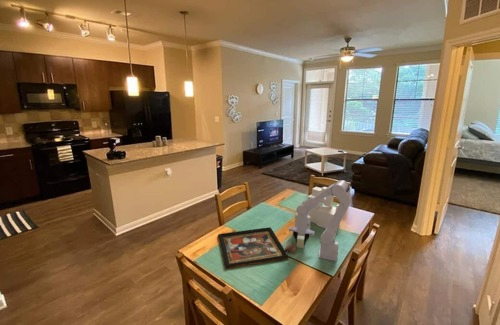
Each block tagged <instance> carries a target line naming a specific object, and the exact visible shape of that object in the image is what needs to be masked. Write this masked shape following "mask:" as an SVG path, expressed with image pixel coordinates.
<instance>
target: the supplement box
mask: <svg viewBox="0 0 500 325" xmlns="http://www.w3.org/2000/svg"><path fill="white" fill-rule="evenodd" d="M297 217H298V213H296V214H295V216H294V227H297ZM311 223H312V222H311V217H310V216H309V215H308V219H307V229H309V230H311ZM298 235H300V236H305V234H300V233H298ZM309 236H310V234H309Z"/></svg>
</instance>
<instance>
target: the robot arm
mask: <svg viewBox="0 0 500 325" xmlns="http://www.w3.org/2000/svg"><path fill="white" fill-rule="evenodd" d="M328 195H330V196H334V197H335V199H337V200H338V201H339V206H338V208H337V210H336V212H335V214H334V216H333V218H332V220H331V222H330V224H329V226H328V227H327V228H324V229H325V230H324V231H323V233H321V235H320V247H319V252H318V258H319V259H323V260H324V259H325V260H329V261H334V262H337V261H338V256H339V241H336V240H335V238H336V235H337V232H338V231H337V230H338V227H339V226H340V224H341V222H342V220H343V218H344V216H346V213H347V211H348V210H349V207H350V205H351V204H352V194H351V186H350V184H349V183H348V181H346V180H343V179H342V180H338V181H337V182H334V183H333V184H331V185H329V186H328V187H327V188H326V189H325V190H324V191H322V192H321V193H320V194H318V195H317V196H311V197H310V195H308V196H309V197H308V196H307V199H306V200H303V201H301V203H300V204H299V205H297V207H296V210H295V211H296V214H298V217H297V227H295V226H289V227H288V232H292V235H293V237H294V239H295V240H294V241H295V245H297V237H298V233H300V234H305V238H304V246H306V242H307V241H308V239H309V237H310V235H311V236H313V237H314V236H315V230H312V229H310V230H309V229H307V219H308V211H310V210H311V209H313V208H314V207H316V206H317V205H318V204H319V201H320V200H322V199H324V198H325V197H327V196H328ZM309 234H310V235H309Z"/></svg>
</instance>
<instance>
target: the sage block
mask: <svg viewBox="0 0 500 325" xmlns="http://www.w3.org/2000/svg"><path fill="white" fill-rule="evenodd" d="M304 238H305V236H300V235H298V237H297V244H296V248H301V249H304V247H305V245H304Z"/></svg>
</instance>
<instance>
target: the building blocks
mask: <svg viewBox="0 0 500 325" xmlns="http://www.w3.org/2000/svg"><path fill="white" fill-rule="evenodd" d="M326 188H328V187H327V186H323V187H319V186H314V187H313V188H312V189H311V194H310V195H308V196H307V198H308V197H309V196H310V197H311V196H317V195H318V194H320V193H321V192H322V191H324V190H325V189H326ZM334 197H335V196H330V195H328V196H327V197H325V198H324V199H322V200H320V201H319V204H318V205H317V206H316V207H314V208H313V209H311V210H310V211H308V215H309V216H310V217H311V223H314V224H315V225H316V226H317V227H320V228H323V229H326V228H327V227H328V226H329V224H330V222H331V220H332V218H333V216H334V214H335V212H336V210H337V208H338V206H339V204H340V203H339V204H336V205H335V206H334V205H333V204H334V199H335V198H334Z"/></svg>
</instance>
